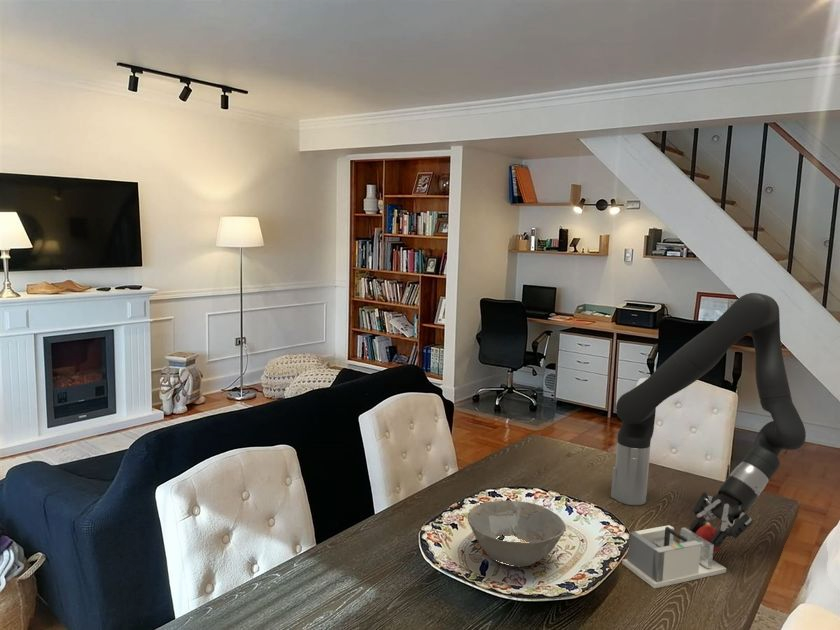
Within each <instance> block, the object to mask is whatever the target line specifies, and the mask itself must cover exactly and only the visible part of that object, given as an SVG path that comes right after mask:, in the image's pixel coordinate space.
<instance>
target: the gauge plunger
mask: <svg viewBox="0 0 840 630" xmlns="http://www.w3.org/2000/svg"><path fill="white" fill-rule="evenodd" d="M670 533H671V534H673V535H674V536H675V537H676V538H677V539H679V544H680V543H685V542H690V541H697V542H699V543H700V544H701V550H700V561H699V563H701V564H702V565H704V566H705V567H707V568H711V567H712V560H713V556H714V553H713V548H714V545H713V544H712V543H710V542H708V541H707V540H705V539H703V538H702V537H700V536H698V535H697V534H695V533H693V532H692V531H690V530H689V529H688V528H687V527H685V526H684V527H680V533H678V532H677V531H675V529H674V530H672V529H670V528H669V527H665V537H664V540H660V541H655V542H653V544H654V545H655V546H657V547H658V548H660V547H665V546H670V545H672V544H677V543H678V542H677V541H675V540H674V539H673V540H672V539H670ZM674 536H673V537H674Z"/></svg>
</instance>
